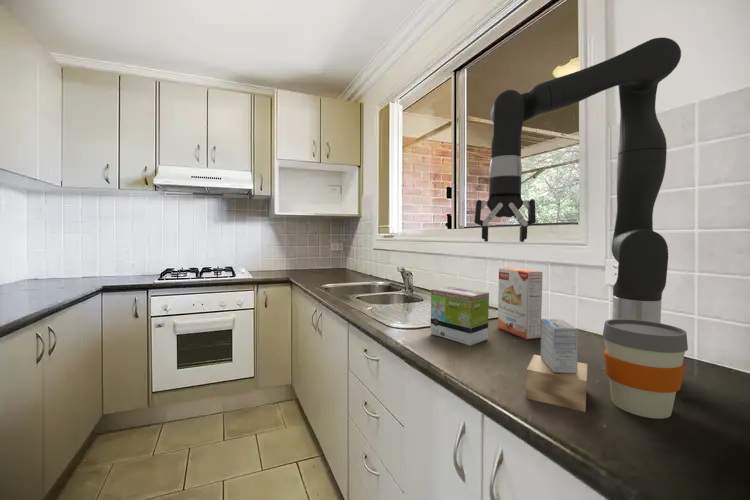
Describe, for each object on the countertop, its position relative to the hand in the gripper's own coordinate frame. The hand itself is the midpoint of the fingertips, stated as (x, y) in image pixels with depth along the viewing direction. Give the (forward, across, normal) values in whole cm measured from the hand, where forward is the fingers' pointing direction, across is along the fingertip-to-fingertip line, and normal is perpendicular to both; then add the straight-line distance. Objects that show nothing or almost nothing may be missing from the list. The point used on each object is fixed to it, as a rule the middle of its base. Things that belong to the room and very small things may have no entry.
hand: (503, 241), depth 89 cm
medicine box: (+25, -8, +18) cm, 32 cm away
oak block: (+30, -8, +18) cm, 36 cm away
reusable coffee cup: (+30, -22, +20) cm, 42 cm away
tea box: (+30, +10, -18) cm, 37 cm away
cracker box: (+30, -9, -27) cm, 42 cm away
